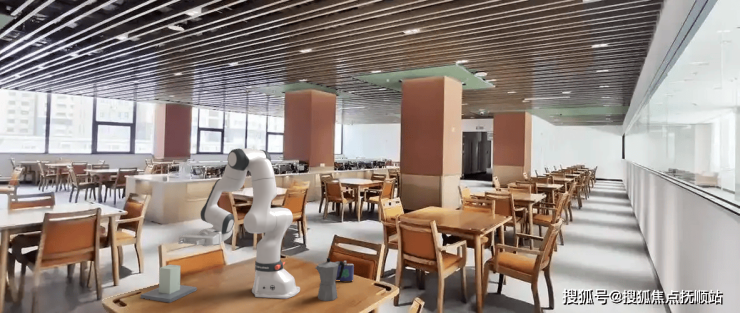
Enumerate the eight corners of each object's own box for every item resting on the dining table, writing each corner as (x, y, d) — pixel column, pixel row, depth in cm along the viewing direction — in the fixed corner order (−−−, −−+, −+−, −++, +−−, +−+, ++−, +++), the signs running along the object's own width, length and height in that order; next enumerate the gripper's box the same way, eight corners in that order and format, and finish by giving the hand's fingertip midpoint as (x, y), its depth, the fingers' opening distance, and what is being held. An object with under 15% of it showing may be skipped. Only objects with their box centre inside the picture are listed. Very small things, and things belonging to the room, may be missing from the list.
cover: (179, 289, 173) (180, 265, 173) (169, 293, 167) (170, 269, 167) (169, 288, 175) (169, 264, 175) (158, 292, 169) (159, 267, 169)
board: (196, 290, 176) (197, 277, 176) (170, 302, 161) (170, 288, 161) (169, 286, 181) (169, 274, 181) (140, 298, 165) (140, 284, 165)
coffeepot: (320, 303, 164) (321, 262, 164) (309, 297, 171) (310, 257, 171) (349, 296, 173) (350, 257, 173) (338, 290, 180) (339, 253, 181)
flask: (353, 280, 196) (354, 260, 196) (353, 282, 193) (353, 261, 193) (336, 280, 196) (336, 259, 196) (335, 282, 193) (335, 261, 193)
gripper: (190, 230, 197) (169, 235, 183) (223, 231, 191) (205, 236, 178) (190, 242, 197) (169, 248, 183) (223, 244, 191) (205, 250, 178)
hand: (187, 242), depth 181 cm, fingers open, 8 cm apart
